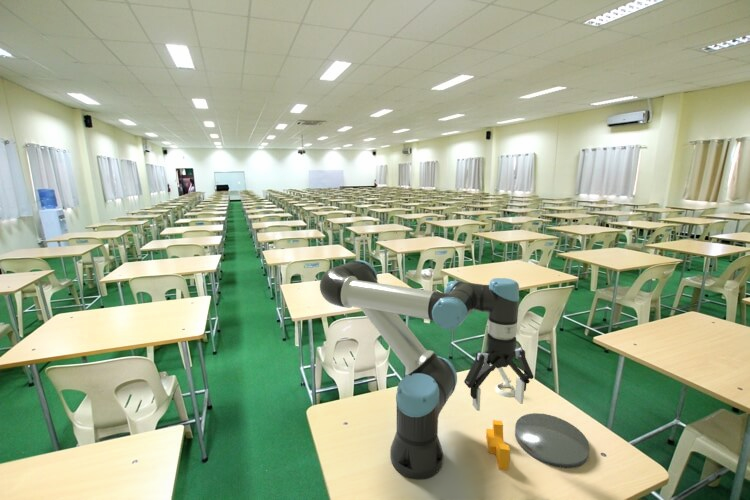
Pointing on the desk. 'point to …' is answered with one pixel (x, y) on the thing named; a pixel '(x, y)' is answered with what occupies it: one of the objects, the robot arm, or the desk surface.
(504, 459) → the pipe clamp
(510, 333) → the robot arm
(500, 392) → the white ring with handle
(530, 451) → the dark grey flat disc
